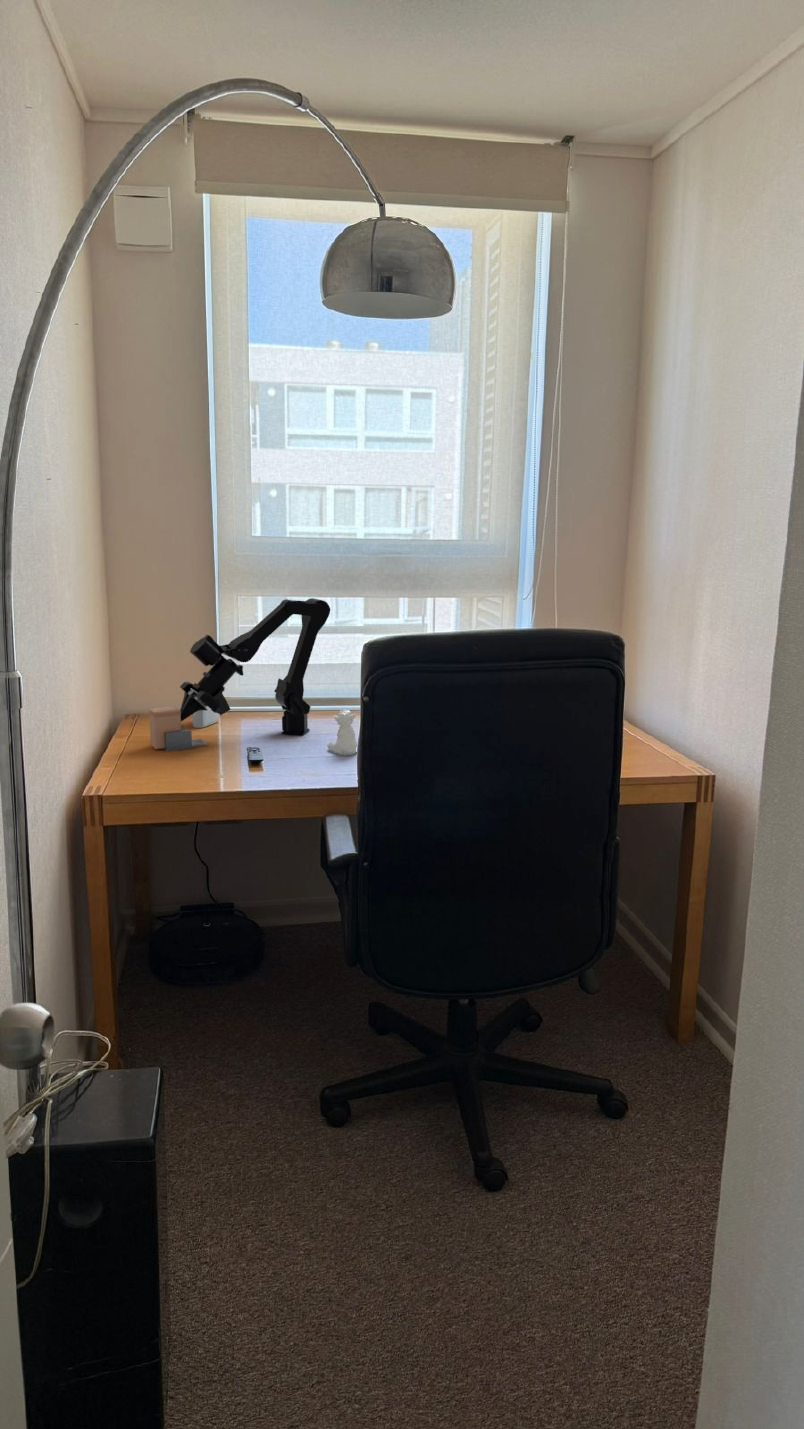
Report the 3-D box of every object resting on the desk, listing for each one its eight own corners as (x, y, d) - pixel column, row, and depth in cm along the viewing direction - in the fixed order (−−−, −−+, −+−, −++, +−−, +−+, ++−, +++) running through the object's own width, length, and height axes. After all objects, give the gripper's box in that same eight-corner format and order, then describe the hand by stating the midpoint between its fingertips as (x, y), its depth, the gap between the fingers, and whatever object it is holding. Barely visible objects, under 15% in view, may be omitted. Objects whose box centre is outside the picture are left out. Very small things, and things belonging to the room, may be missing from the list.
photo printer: (203, 729, 280) (201, 687, 277) (190, 727, 282) (188, 686, 279) (221, 721, 290) (220, 681, 287) (208, 720, 291) (207, 680, 288)
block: (176, 741, 263) (175, 706, 260) (182, 746, 258) (180, 709, 256) (150, 744, 259) (149, 708, 257) (155, 749, 255) (154, 712, 253)
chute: (198, 739, 267) (198, 722, 266) (208, 746, 260) (207, 728, 259) (157, 744, 262) (157, 726, 261) (166, 751, 255) (165, 733, 254)
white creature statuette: (362, 748, 261) (362, 705, 258) (365, 756, 252) (366, 712, 250) (327, 749, 259) (327, 706, 257) (330, 757, 251) (329, 713, 248)
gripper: (249, 701, 258) (211, 746, 255) (226, 689, 274) (190, 731, 271) (220, 675, 253) (181, 720, 250) (198, 664, 268) (161, 706, 266)
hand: (179, 720), depth 259 cm, fingers closed, pressing on block
